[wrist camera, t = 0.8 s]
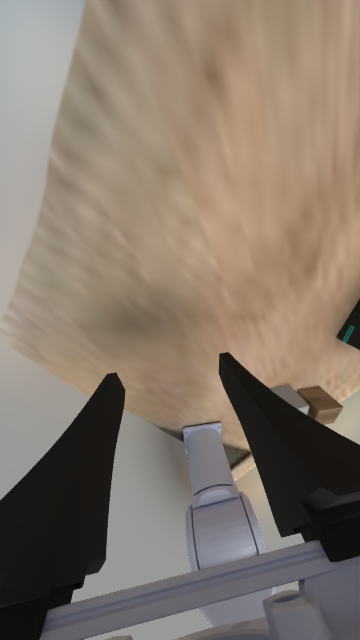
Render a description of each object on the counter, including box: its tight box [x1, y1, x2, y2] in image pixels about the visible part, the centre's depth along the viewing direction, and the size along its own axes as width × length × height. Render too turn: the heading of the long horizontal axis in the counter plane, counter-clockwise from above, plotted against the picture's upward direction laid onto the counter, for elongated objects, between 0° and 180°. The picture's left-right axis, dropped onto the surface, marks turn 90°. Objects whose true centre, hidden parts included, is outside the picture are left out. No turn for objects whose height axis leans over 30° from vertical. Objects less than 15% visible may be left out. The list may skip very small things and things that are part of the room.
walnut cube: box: [297, 386, 343, 425], centre depth 29 cm, size 4×4×4 cm
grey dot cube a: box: [270, 384, 309, 415], centre depth 28 cm, size 4×4×5 cm
